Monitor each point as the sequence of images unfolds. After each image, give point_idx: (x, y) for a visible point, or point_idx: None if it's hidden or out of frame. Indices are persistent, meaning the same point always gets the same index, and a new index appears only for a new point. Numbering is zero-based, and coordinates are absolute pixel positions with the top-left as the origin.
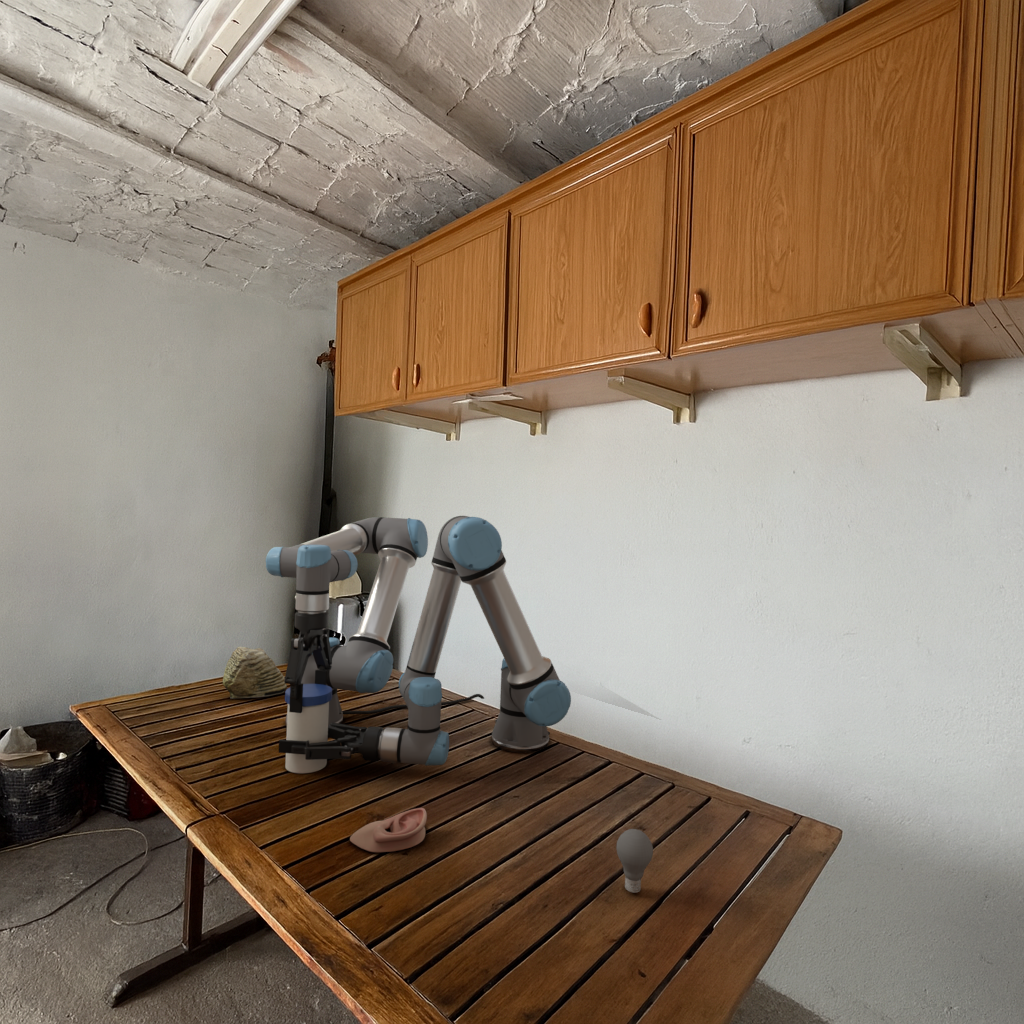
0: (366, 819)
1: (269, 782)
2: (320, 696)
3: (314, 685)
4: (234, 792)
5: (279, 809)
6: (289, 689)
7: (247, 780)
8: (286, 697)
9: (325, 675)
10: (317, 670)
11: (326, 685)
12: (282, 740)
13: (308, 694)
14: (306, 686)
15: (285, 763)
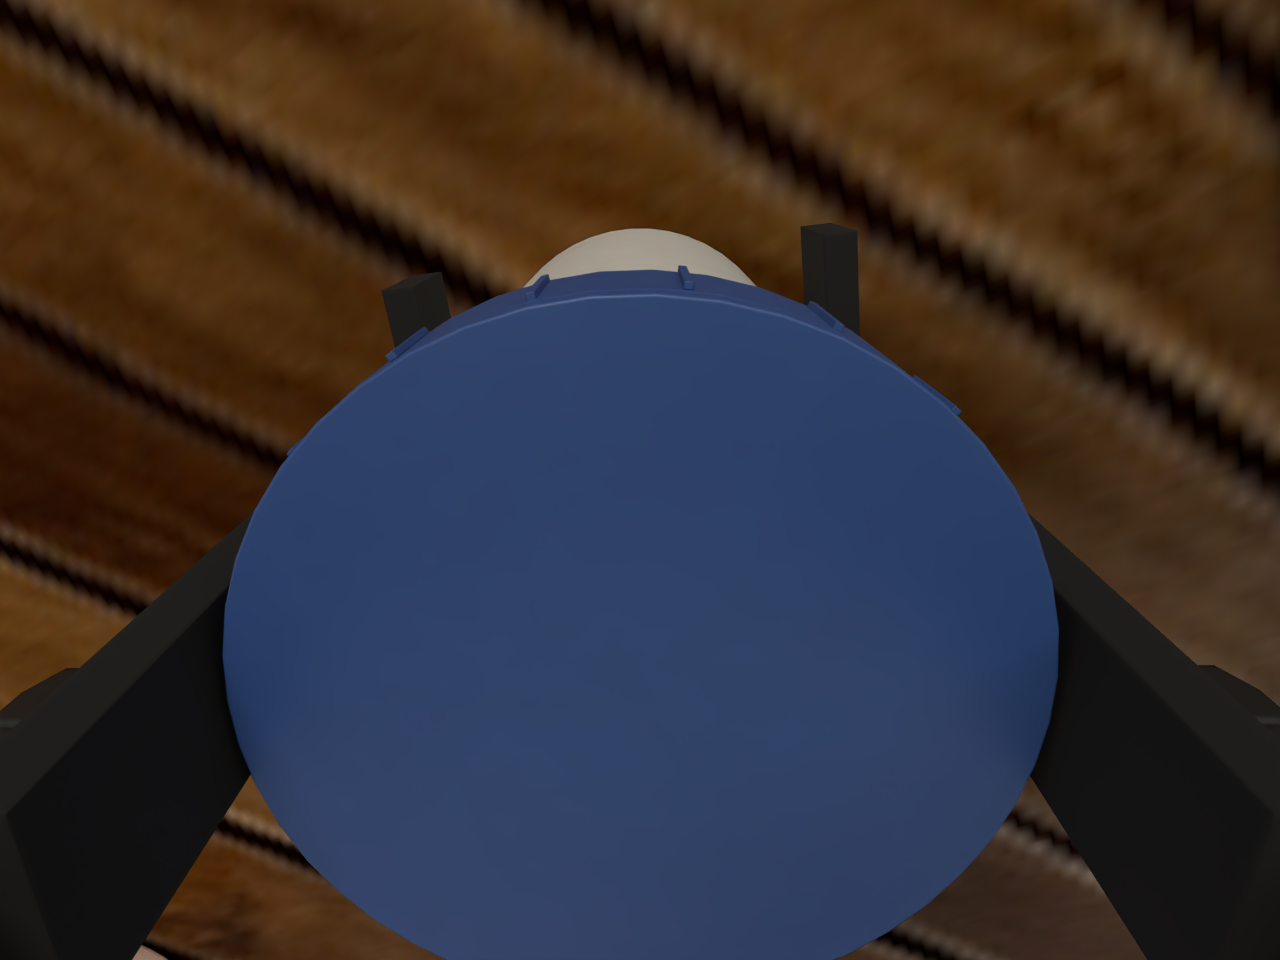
0: (188, 908)
1: (310, 279)
2: (452, 947)
3: (947, 669)
4: (81, 131)
5: (57, 525)
6: (557, 363)
7: (270, 103)
8: (298, 442)
9: (1144, 939)
10: (1270, 861)
11: (987, 835)
12: (400, 319)
13: (420, 803)
14: (846, 573)
15: (563, 252)
